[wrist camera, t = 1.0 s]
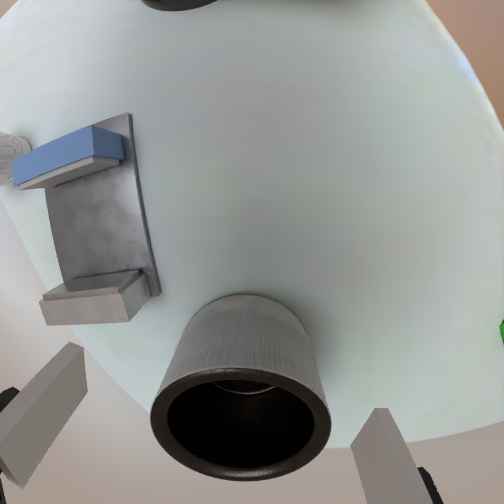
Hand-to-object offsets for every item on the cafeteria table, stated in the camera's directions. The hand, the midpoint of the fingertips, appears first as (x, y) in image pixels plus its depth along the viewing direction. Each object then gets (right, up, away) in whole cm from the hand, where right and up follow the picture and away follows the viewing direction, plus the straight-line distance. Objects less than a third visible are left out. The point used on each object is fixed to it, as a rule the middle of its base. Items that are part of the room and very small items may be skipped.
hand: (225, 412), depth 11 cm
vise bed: (-18, +11, +22) cm, 31 cm away
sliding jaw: (-19, +18, +19) cm, 33 cm away
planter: (0, -6, +26) cm, 26 cm away
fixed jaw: (-17, +2, +23) cm, 29 cm away
